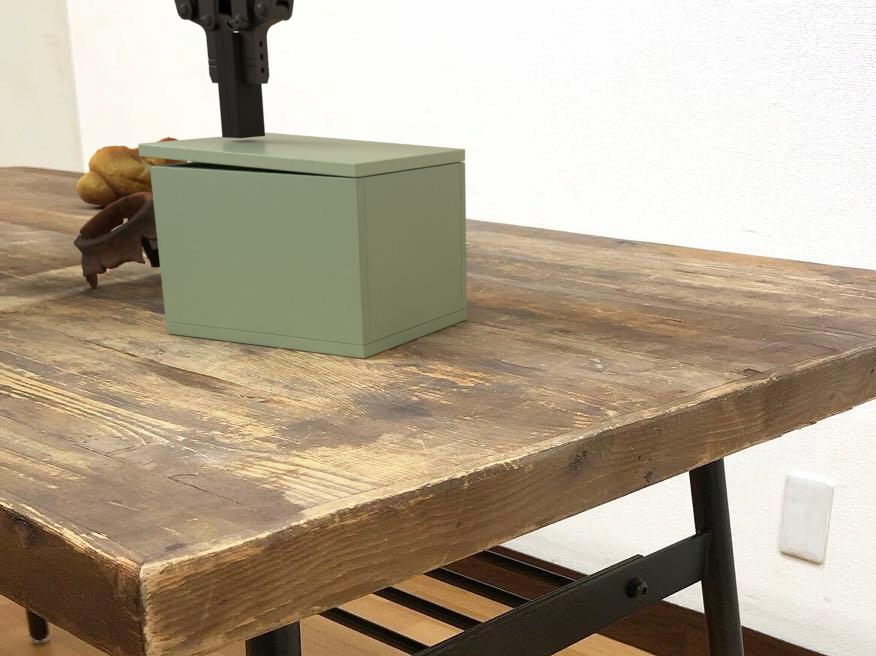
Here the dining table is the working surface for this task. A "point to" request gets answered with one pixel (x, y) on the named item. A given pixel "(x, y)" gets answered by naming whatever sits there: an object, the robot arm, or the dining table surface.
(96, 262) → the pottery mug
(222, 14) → the robot arm
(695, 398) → the dining table surface
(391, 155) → the lid
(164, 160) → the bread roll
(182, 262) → the box
